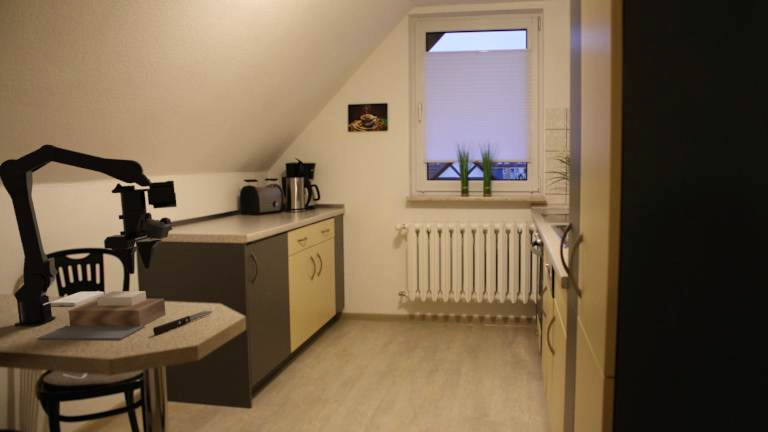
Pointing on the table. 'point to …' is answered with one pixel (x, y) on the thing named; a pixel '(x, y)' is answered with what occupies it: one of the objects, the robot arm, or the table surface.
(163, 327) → the kitchen knife
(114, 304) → the tile
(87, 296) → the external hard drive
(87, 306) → the brown wooden block
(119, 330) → the mat
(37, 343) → the table surface
